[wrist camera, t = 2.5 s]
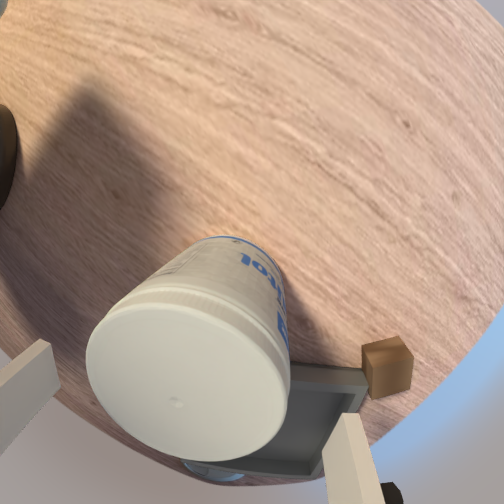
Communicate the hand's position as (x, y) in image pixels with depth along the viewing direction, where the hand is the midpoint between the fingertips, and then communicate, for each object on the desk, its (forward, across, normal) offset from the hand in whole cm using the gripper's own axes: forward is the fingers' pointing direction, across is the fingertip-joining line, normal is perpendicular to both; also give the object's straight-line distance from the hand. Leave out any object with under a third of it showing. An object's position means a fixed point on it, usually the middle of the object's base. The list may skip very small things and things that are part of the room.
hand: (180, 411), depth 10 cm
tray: (+15, +6, -15) cm, 22 cm away
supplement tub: (+15, 0, 0) cm, 15 cm away
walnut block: (+15, +16, -5) cm, 23 cm away
